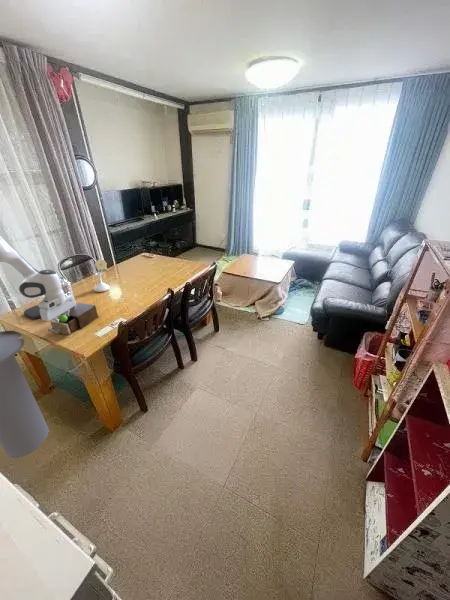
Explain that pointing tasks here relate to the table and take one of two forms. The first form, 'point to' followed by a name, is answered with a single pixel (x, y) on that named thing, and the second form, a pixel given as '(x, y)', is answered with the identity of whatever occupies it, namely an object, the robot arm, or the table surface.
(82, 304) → the cabinet
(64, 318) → the lime
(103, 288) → the flower in vase
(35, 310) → the media streaming box
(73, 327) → the drawer
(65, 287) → the water bottle
